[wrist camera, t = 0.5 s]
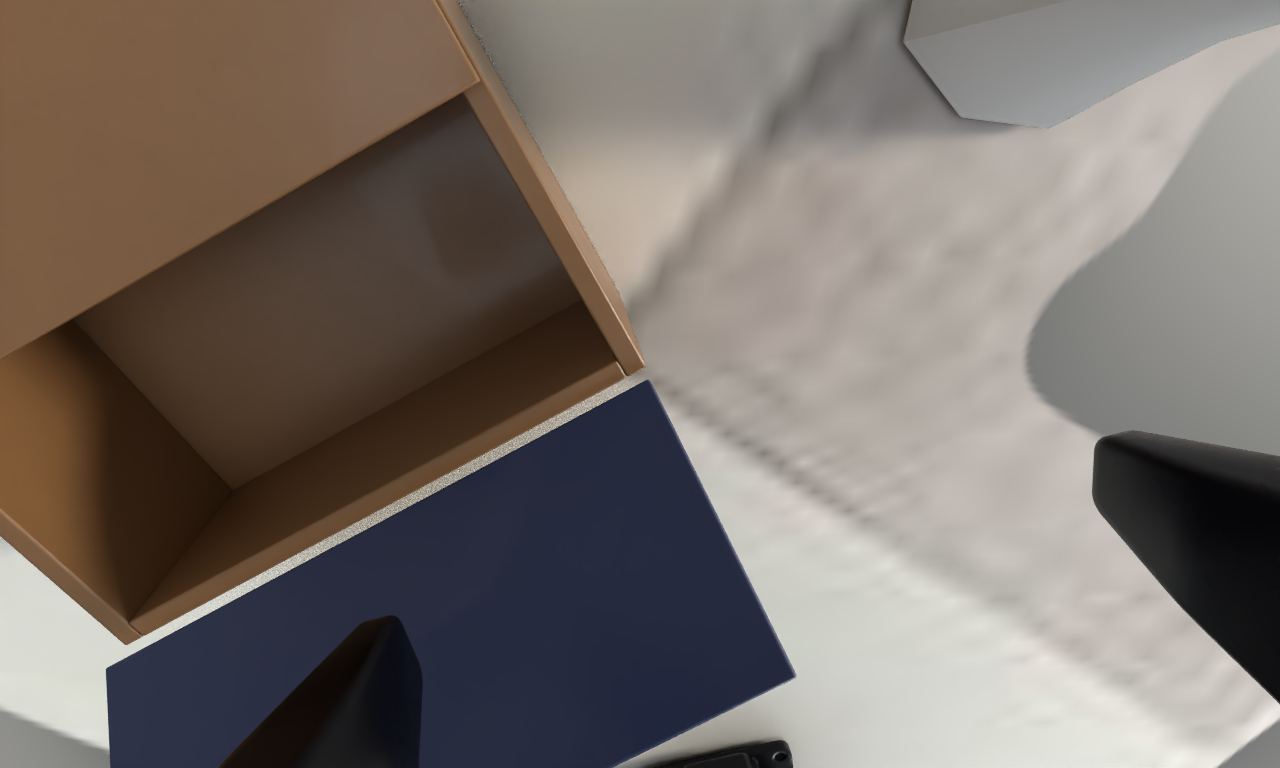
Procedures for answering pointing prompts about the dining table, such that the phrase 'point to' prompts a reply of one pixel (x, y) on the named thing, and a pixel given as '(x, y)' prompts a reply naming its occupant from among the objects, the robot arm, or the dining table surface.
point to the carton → (266, 283)
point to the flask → (1063, 49)
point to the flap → (494, 614)
